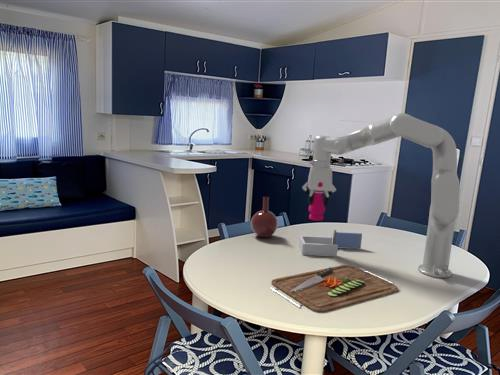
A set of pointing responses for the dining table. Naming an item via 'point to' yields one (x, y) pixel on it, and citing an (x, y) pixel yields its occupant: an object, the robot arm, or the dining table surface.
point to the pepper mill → (317, 205)
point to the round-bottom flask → (264, 221)
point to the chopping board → (333, 287)
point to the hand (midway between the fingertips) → (317, 204)
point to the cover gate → (347, 239)
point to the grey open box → (317, 246)
